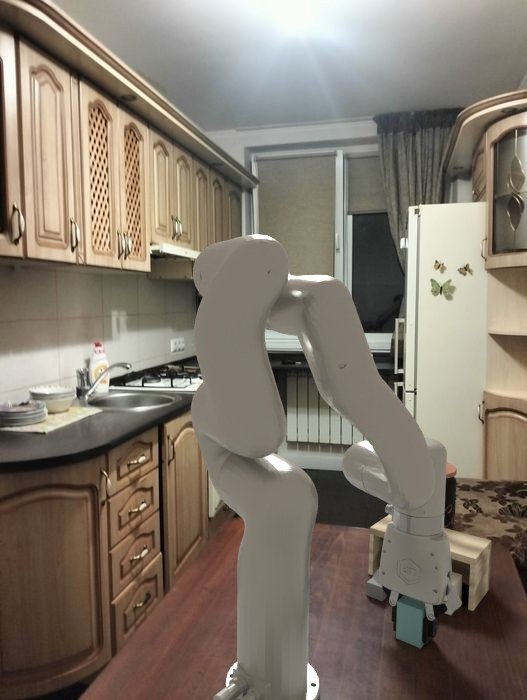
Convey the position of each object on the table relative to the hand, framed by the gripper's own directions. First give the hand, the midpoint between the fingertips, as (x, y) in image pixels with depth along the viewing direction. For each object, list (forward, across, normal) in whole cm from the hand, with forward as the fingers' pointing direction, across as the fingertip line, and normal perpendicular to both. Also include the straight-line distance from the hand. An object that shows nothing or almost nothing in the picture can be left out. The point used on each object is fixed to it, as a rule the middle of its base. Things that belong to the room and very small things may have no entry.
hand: (413, 632), depth 85 cm
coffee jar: (+1, -10, +30) cm, 32 cm away
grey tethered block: (+1, -10, +13) cm, 16 cm away
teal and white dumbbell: (+1, 0, +6) cm, 6 cm away
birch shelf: (+1, -5, +18) cm, 18 cm away
